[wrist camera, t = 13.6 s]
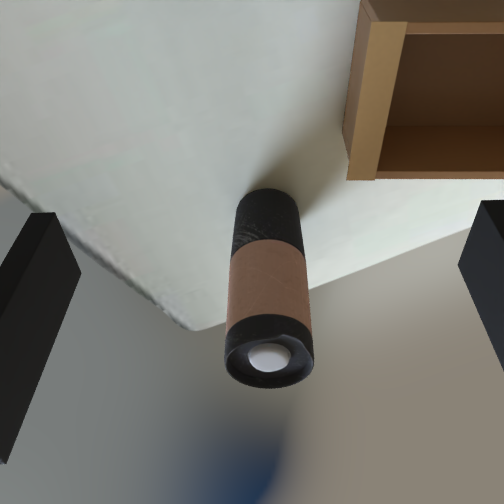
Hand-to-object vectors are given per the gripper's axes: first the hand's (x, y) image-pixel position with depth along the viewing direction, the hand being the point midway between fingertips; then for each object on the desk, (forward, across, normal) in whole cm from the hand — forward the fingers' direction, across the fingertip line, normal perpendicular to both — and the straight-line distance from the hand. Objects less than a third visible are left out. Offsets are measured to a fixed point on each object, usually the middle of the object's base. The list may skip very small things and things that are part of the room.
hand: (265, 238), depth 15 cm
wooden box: (+30, +18, -7) cm, 36 cm away
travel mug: (+30, 0, -23) cm, 38 cm away
